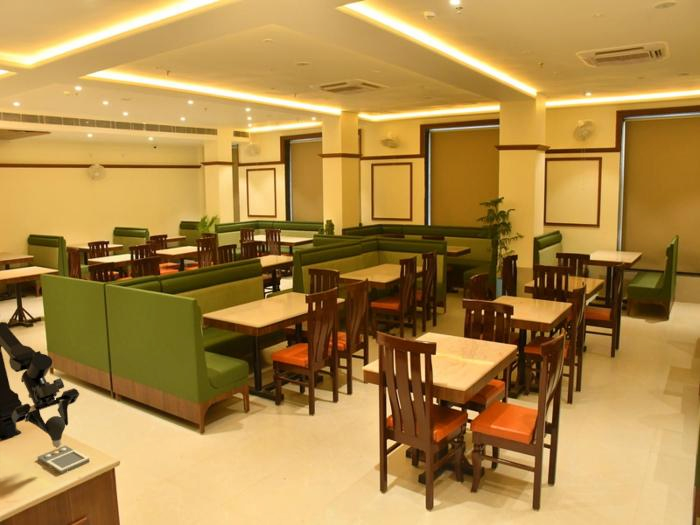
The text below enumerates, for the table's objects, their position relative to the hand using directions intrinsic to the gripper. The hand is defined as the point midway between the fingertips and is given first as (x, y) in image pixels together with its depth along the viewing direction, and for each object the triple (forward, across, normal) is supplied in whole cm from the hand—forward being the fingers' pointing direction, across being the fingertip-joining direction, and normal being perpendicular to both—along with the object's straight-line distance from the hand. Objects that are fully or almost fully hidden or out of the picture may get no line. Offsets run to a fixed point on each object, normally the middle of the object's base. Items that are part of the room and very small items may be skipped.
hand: (57, 428), depth 176 cm
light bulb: (+4, 0, +6) cm, 7 cm away
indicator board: (+7, +2, +12) cm, 14 cm away
